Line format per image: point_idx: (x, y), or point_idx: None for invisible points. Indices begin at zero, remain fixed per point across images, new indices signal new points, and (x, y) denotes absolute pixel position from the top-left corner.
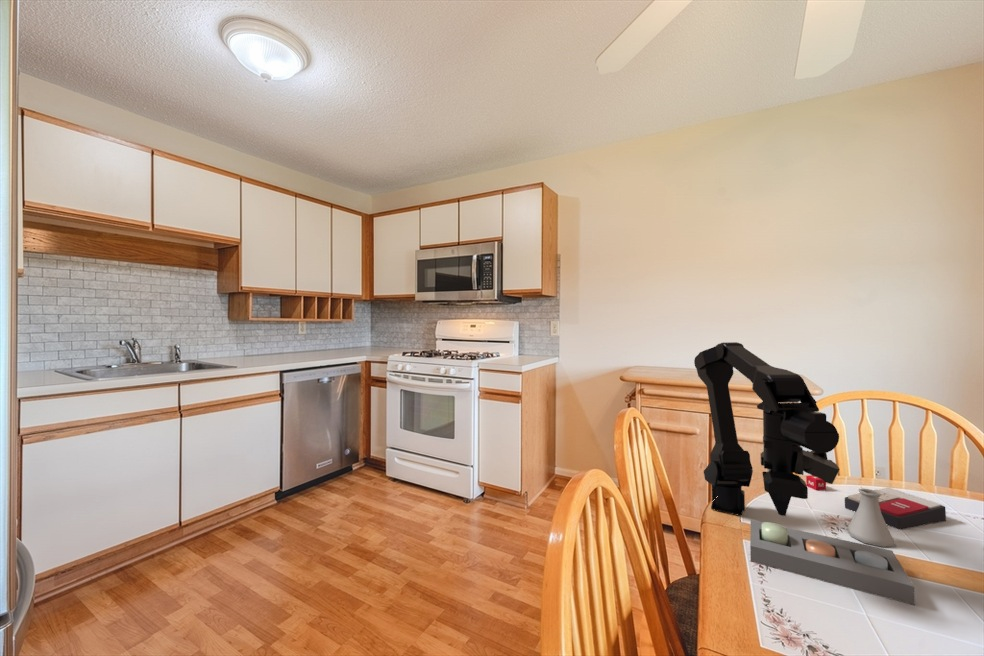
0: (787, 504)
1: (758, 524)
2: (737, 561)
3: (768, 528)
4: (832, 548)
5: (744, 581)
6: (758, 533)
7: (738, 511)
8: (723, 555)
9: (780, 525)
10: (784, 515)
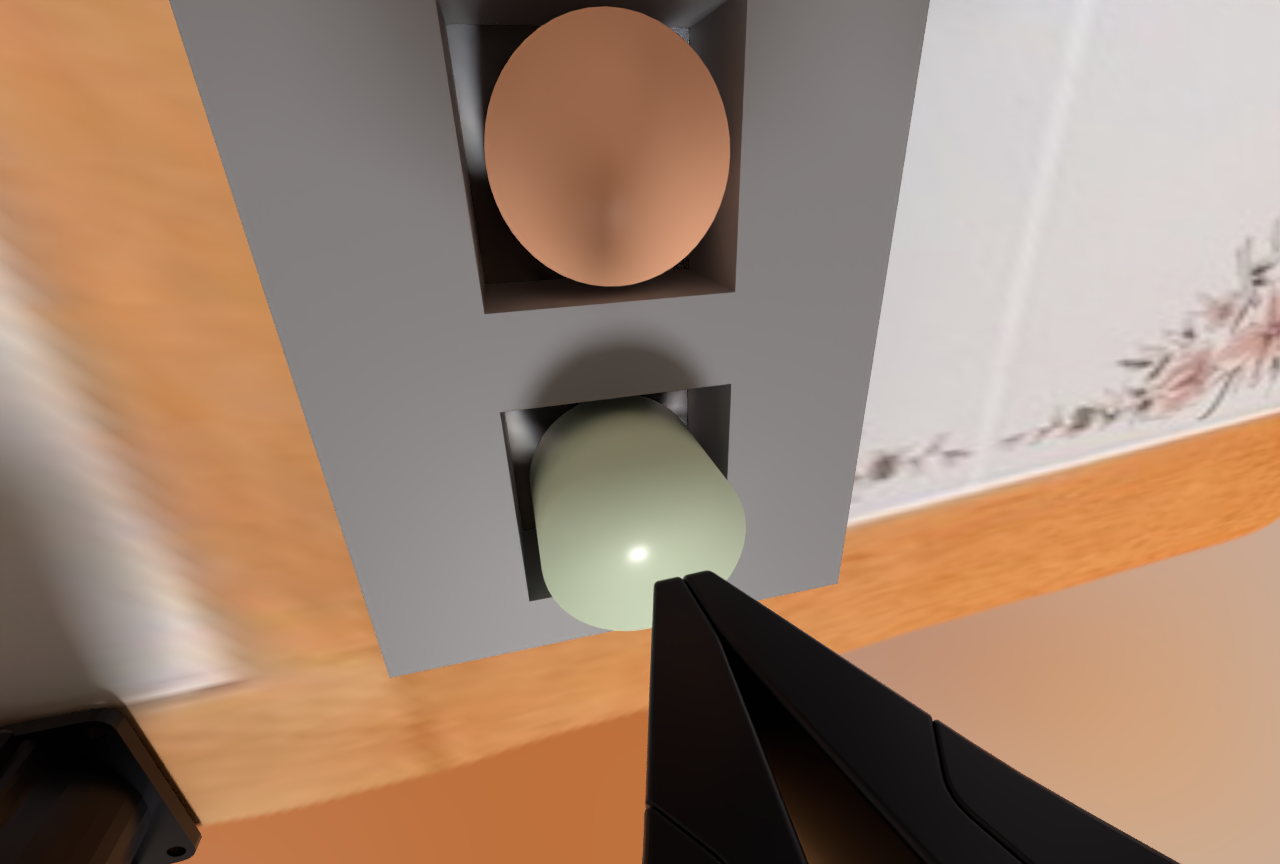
0: (874, 692)
1: (445, 621)
2: None
3: None
4: (601, 30)
5: (974, 508)
6: None
7: (66, 747)
8: (789, 621)
9: (561, 518)
10: (708, 576)
